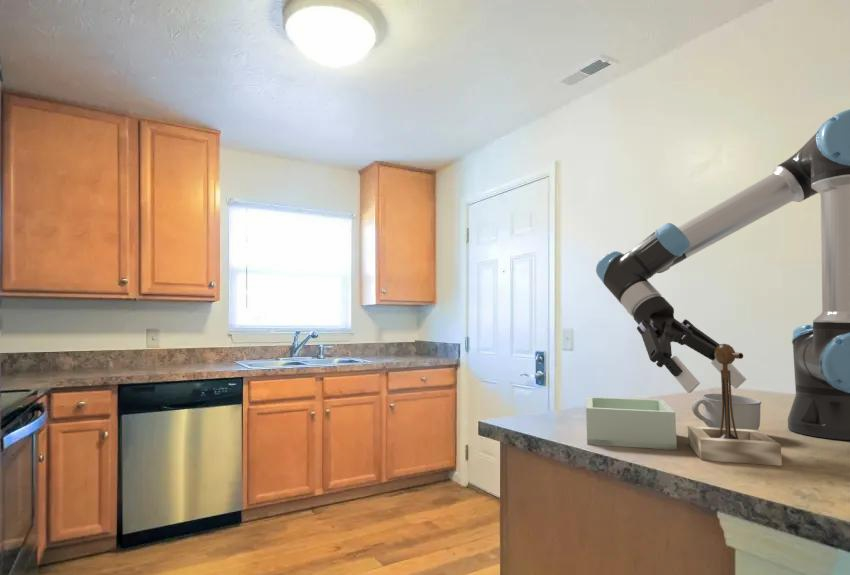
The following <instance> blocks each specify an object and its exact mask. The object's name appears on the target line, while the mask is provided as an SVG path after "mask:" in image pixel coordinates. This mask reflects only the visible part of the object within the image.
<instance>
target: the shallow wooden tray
mask: <svg viewBox="0 0 850 575" xmlns="http://www.w3.org/2000/svg"><path fill="white" fill-rule="evenodd" d="M730 430H731V434H732V435H734V436H735V432H734V429H732V428H730ZM736 432H737V436H738V439H722V438H718V437H719V434H720V428H714V427H708V426H697V425H696V426H695V425H694V426H693V425H688V426H687V435H688V436H687V440H688V445H689V446H690V448H691V449H692V451H693V452H694V453H695V454H696V455H697V457H698V458H699V459H700V460H701V461H711V462H712V461H713V462H725V463H739V464H753V465H764V466H765V465H766V466H780V467H781V466H783V462H782V461H783V459H782V445H781V443H780V442H777V440H774V439H773V438H771V437H770V436H768V435H766V434H765V433H764V432H762V431H761V430H759V429H758V430H750V429H736ZM725 433H726V431H725V428H723V429H722V435H723V434H725ZM735 437H736V436H735Z"/></svg>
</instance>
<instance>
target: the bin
mask: <svg viewBox="0 0 850 575" xmlns="http://www.w3.org/2000/svg"><path fill="white" fill-rule="evenodd" d="M585 407H586V408H585V411H586V412H585V413H586V444H587V445H594V446H595V445H597V446H612V447H625V448H636V449H638V448H639V449H651V450H653V449H654V450H667V451H677V450H678V449H677V448H678V446H677V425H676V411H675V410H674V409H673V408H672V407H671V406H670V405H669V404H668V402H666V401H665V400H664V399H648V398H647V399H646V398H627V397H625V398H623V397H622V398H621V397H620V398H619V397H599V396H597V397H596V396H594V397H593V396H587V397H586V406H585Z"/></svg>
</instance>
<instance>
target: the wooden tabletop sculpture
mask: <svg viewBox="0 0 850 575" xmlns="http://www.w3.org/2000/svg"><path fill="white" fill-rule="evenodd" d="M719 344H720V343H719ZM714 355H715V358H716V360H717V361H718V362H719V363H721V364H723V370H720V371H721V373H720V378H721V379H720V381H721V394H722V418H721V428H720V434H719V437H718V438H722V439H738V436H737V432H736V428H735V422H734V417H733V408H732V395H733V394H732V385H731V375H730V370H728V364H733V363H734V361H735V360H736V359H737V360H738V359H739V360H740V359H743V358H744V354H743V352H736V351H735V349H734V347H732V345H730V344H728V343H727V344H726V343H721V344H720V345H719V346H717V347H716V349H715V353H714ZM728 380H729V382H728ZM731 394H732V395H731ZM729 399H730V407H729ZM724 408H725V431H726V433H725V434H723V435H722V429H723V421H724ZM730 410H731V418H732V423H733V429H734V432H735V436H736V437H735V436H734V435H732V434H731V430H730Z"/></svg>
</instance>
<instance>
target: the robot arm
mask: <svg viewBox="0 0 850 575" xmlns="http://www.w3.org/2000/svg"><path fill="white" fill-rule="evenodd" d="M816 194H819V195H820V234H821V235H820V236H821V237H820V242H821V248H820V249H821V251H820V252H821V295H822V296H821V298H822V299H821V305H822V308H821V309H822V311H821V313H820V315H818V316H816V318H814V319H813V320H812V324H805V325H800V326H797V327H795V328H794V330H793V331H792V340H791V343H792V349H793V368H794V384H795V385H794V386H795V395H794V399H793V401H792V405H791V406H790V407H791V408H790V410H789V413H788V417H787V429H788V430H789V431H791V432H794V433H798V434H801V435H805V436H811V437H817V438H818V437H819V438H824V439H833V440H841V441H842V440H843V441H850V109H846V110H843V111H840V112H838V113H836V114H835V115H833V116H832V117H830V118H829V119H827V120H826V121H825V122H824V123H822V124H821V126H819V128H818V130H817V132H815V133H814V135H812V136H811V138H810V139H809V140H807V142H806V143H805V144H804V145H803V146H802V147H801V148H800V149H799V150H797V152H795V153H794V154H793V155H791V156H790V157H789V158H787V159H786V160H785V161H783V162H781V163H780V164H778V165H775V167H774V169H773V172H772V173H771V174H769V175H768V176H766V177H764V178H762V179H761V180H759V181H757V182H755V183H754V184H752V185H750V186H748V187H746V188H745V189H743V190H741V191H740V192H737V193H736V194H734V195H732V196H730V197H729V198H726V200H724V201H722V202H720V203H718V204H717V205H715V206H712V207H711V208H710V209H707V210H706V211H704V212H702V213H700V214H699V215H697V216H695V217H694V218H692V219H690V220H689V221H686V222H684V223H683V224H681V225H679V226H677V225H675V224H674V223H671V222H667V223H665V224H663V225H662V226H660V227H658V228H657V229H655V230H654V232H652V233H651V234H650V235H647V237H646V238H645V239H643V240H642V241H640V242H639V243H637V245H636V246H635V247H633V248H632V249H631V250H629V251H627V252H626V253H622V252H620V251H612V252H610V253H607V254H604V255H603V256H602V257H601V258H600V259H599V260H598V262H597V263H596V267H595V272H596V275H597V277H598V278H599V279H600V281H601V282H602V283H603V285H604V286H605V287H606V289H607V290H608V291H609V292H610V293H611V294H612V295H613V296H614V297H615V298H616V300H617V301H618V302H619V303H620V304H621V306H622V307H624V309H625V310H626V312H627V313H628V314H629V315H630V317H632V318H633V320H634V321H635V322H636V323H637V327H636V330H637V331H638V332H639V334H640V335H641V338H642V341H643V343H644V347H645V349H646V352H647V355H648V358H649V360H650V361H651V362H652V363H656V364H655V365H656V366H657V367H659V368H663V367H664V366H665V368H666V369H667V371H669V373H670V374H671V375H672V376H673V377H674V378H675V379H676V380H677V382H678V383H679V385H681V386H682V388H683V389H684V390H685V391H686V392H687V394H692V392H693V391H694V390H695V389H696V388H698V386H699V385H700V384H701V383H700V381H699V380H698V379H697V378H696V377H695V375H693V373H692V372H691V371H690V370H689V369H688V368H687V366H686V365H685V364H684V363H683V362H682V360H681V359H680V358H679V357H678V356H677V355H673V354H672V353H673V352H672V342H673V343H677V344H678V345H681V346H684V345H685V346H687V347H688V348H690V349H692V350H694V351H695V352H697V353H699V354H700V355H702V356H704V357H705V358H707V359H708V360H711V362H710V364H712V366H713V367H714V368H715V369H716V370H717V371H718V372H719V373H720V374H721V371H720V370H723V364H721V363H719V362H718V361H717V360H716V358H715V355H714V353H715V349H716V347H717V346H719V345H720V343H718V342H717V341H715V340H714V339H713V338H711V337H710V336H708V335H707V334H706V333H704V332H703V331H701V330H700V329H699V328H697V327H696V326H695V325H694V324H692V323H691V322H690V321H689V319H686V318H684V320H682V321H681V322H680V321H678V320H677V319H676V318H675V316H674V314H675V309H674V307H673V306H672V305H671V304H670V303H669V301H668V300H666V298H665V297H663V296H662V294H661V292H660V291H658V290H657V288H656V287H655V286H653V285H652V283H650V281H648V280H649V279H650V278H652V277H653V276H655V275H656V274H661V273H664V272H666V271H668V270H670V268H672V267H673V266H675V265H677V264H678V263H681V262H683V261H684V260H686V259H687V258H689V257H691V256H693V255H695V254H697V253H698V252H701V251H702V250H704V249H706V248H708V247H711V246H712V245H713V244H715V243H717V242H720V241H721V240H723V239H726V238H727V237H729V236H731V235H732V234H734V233H735V232H738V231H740V230H741V229H743V228H745V227H747V226H748V225H750V224H752V223H755V222H756V221H758V220H760V219H761V218H764V217H766V216H767V215H769V214H771V213H773V212H775V211H776V210H779V209H780V208H782V207H784V206H786V205H787V204H790V203H792V202H796V203H802V202H803V201H805V200H807V199H809V198H810V197H813V196H815V195H816ZM728 370H730V375H731V387H732V388H733V389H738V388H739V387H740V386H741V385H742V384H744V383H745V382H746V381H747V378H746V377H745V376H744V375H743V374H742V373H741V372H740V370H738V369H737V368H736V367H735V365H734V364H733V363H731V364H728ZM728 383H729V380H728Z"/></svg>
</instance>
